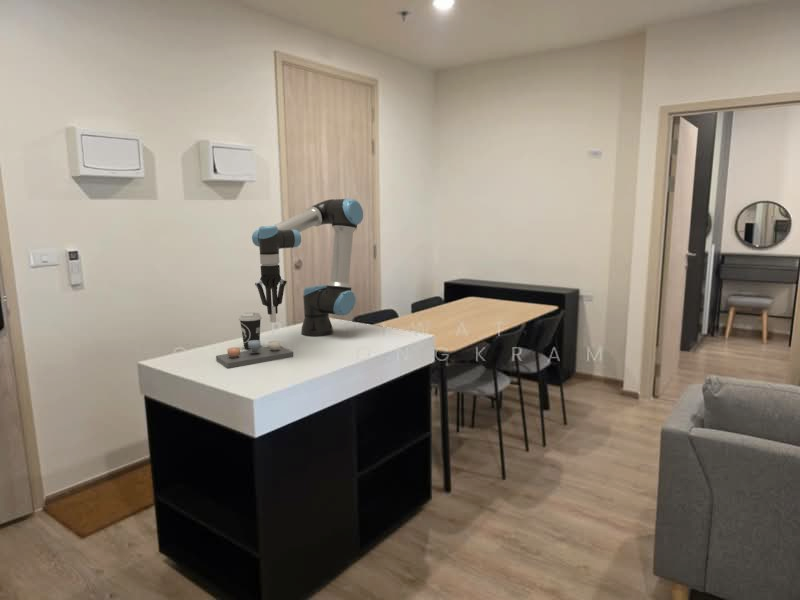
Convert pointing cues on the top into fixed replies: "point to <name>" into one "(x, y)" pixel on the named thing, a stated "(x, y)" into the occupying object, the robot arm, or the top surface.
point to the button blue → (254, 345)
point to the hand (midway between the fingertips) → (273, 321)
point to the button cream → (274, 345)
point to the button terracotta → (233, 352)
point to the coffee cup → (250, 327)
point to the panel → (253, 357)
